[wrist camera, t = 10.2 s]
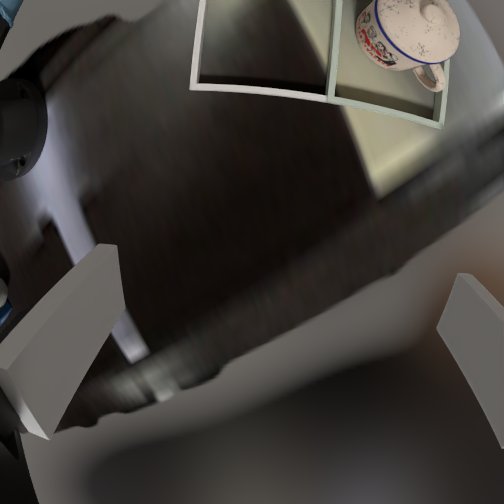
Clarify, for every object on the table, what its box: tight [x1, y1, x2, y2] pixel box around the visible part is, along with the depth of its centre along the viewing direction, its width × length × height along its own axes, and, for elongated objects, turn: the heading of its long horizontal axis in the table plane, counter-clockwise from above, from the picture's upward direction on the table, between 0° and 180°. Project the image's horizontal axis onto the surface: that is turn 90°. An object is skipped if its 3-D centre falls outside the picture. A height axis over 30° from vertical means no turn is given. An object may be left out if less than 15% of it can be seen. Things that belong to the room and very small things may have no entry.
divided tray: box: [190, 0, 450, 130], centre depth 27 cm, size 29×17×2 cm, turn 85°
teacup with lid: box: [355, 0, 460, 92], centre depth 23 cm, size 12×9×12 cm
